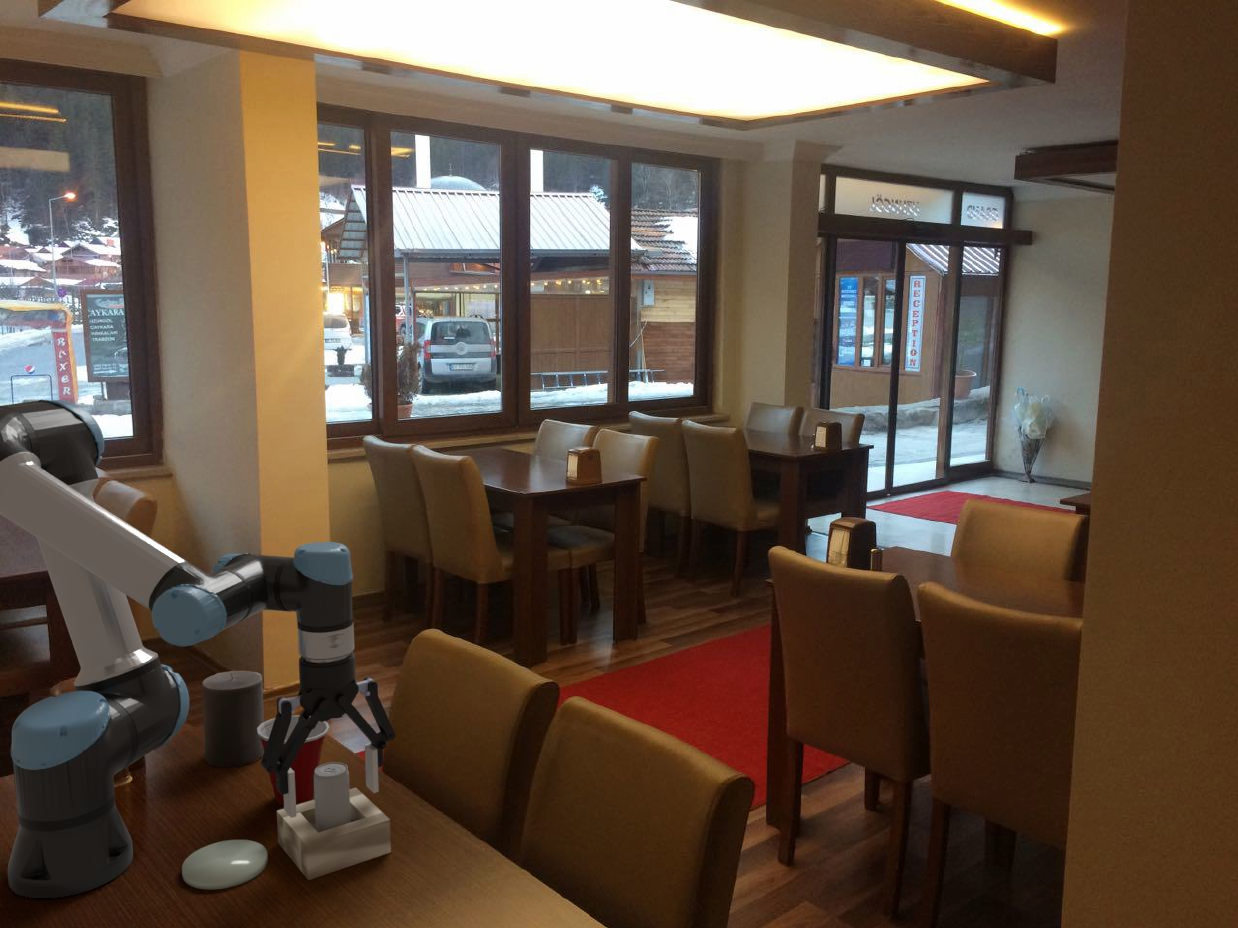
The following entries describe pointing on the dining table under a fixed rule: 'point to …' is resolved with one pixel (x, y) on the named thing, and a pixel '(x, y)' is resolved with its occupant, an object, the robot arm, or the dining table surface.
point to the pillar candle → (232, 718)
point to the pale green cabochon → (224, 864)
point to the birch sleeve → (334, 837)
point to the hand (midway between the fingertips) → (332, 800)
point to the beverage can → (331, 796)
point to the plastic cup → (299, 759)
